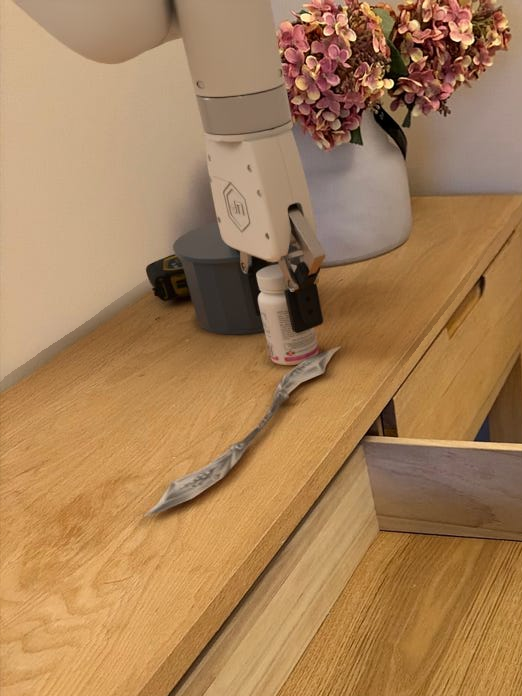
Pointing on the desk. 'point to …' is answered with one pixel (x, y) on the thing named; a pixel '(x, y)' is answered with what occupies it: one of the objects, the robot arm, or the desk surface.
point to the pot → (223, 297)
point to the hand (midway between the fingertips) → (288, 318)
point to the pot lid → (205, 246)
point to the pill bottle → (282, 320)
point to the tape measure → (168, 278)
